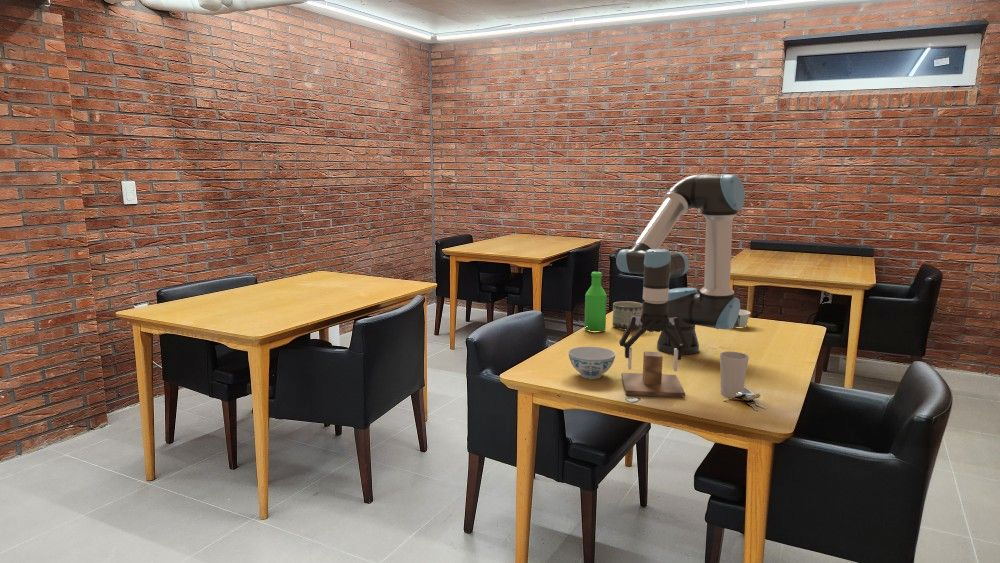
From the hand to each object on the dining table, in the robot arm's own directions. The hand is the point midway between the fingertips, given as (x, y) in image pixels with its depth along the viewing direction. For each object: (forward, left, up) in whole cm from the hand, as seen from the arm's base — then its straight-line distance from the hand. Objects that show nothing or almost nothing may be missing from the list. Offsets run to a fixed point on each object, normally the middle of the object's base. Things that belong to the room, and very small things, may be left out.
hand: (652, 369), depth 186 cm
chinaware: (+18, -9, -6) cm, 21 cm away
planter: (+1, -77, -6) cm, 77 cm away
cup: (-23, +3, -6) cm, 24 cm away
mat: (0, 0, -6) cm, 6 cm away
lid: (0, 0, -5) cm, 5 cm away
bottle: (+15, -70, -6) cm, 72 cm away
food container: (-46, -87, -6) cm, 99 cm away
